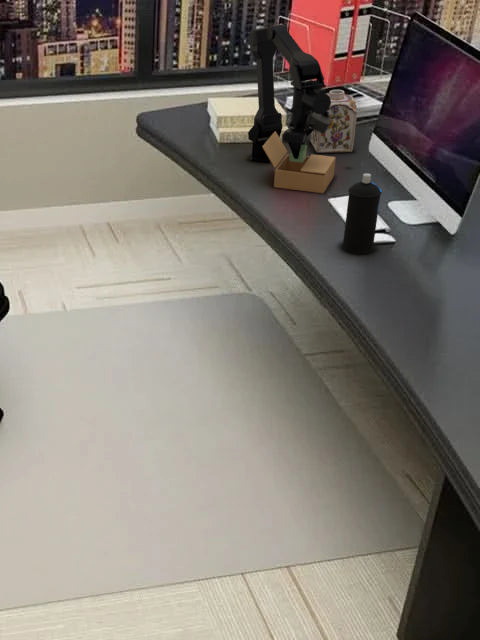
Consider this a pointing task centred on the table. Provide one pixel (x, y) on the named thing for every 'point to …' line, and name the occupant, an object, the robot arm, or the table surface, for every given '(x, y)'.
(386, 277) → the table surface
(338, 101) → the decorative jar
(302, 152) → the block
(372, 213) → the aerosol can
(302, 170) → the carton
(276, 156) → the flap
